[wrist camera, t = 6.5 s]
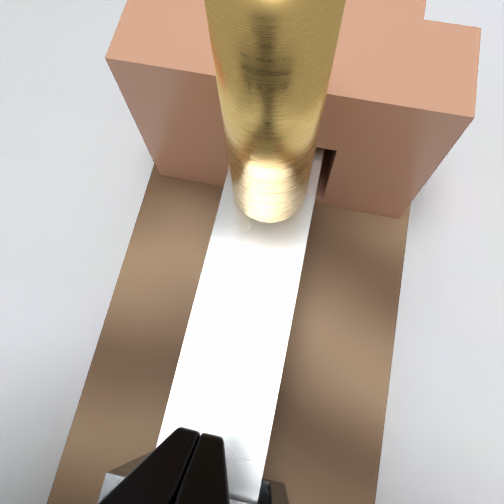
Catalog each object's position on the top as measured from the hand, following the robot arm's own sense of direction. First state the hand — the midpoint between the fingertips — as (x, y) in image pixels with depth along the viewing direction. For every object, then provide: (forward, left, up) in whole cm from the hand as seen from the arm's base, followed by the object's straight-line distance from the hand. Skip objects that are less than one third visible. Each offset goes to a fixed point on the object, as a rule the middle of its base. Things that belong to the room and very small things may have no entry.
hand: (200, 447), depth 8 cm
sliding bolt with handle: (+4, 0, -8) cm, 9 cm away
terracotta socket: (+12, 0, -8) cm, 14 cm away
